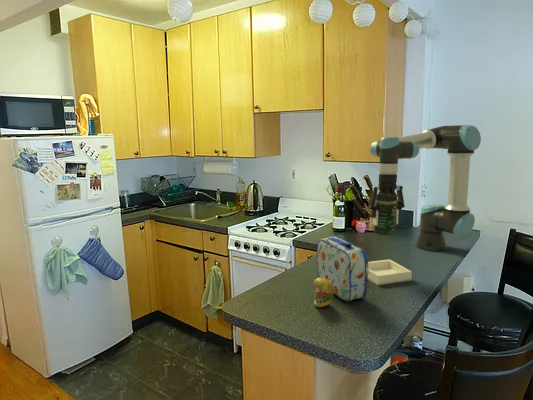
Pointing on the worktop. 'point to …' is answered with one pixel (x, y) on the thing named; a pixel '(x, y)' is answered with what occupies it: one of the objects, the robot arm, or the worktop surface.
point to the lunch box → (343, 267)
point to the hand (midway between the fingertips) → (385, 224)
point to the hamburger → (323, 292)
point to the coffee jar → (386, 213)
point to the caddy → (387, 272)
